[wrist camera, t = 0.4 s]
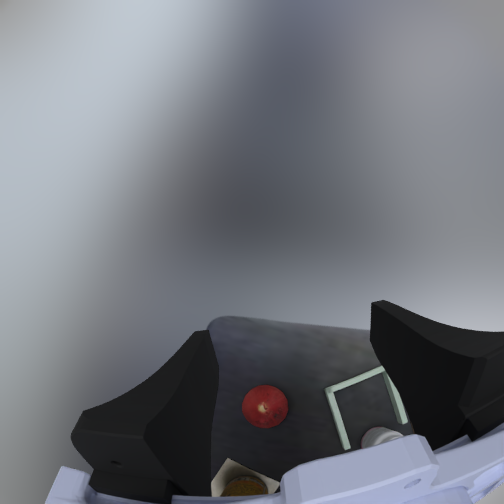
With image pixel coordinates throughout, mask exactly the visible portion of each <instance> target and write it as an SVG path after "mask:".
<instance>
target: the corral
mask: <svg viewBox="0 0 504 504" xmlns="http://www.w3.org/2000/svg"><path fill="white" fill-rule="evenodd" d="M380 372H382V375H383V378H384V381H385V384H386V387H387V390H388V393H389V396H390V399H391V402H392V405H393V408H394V412H395V415H396V418H397V422H398V423H399V424H405V423H407V422H408V421H407V417H406V414H405V411H404V407H403V404H402V401H401V398H400V395H399V393H398V391H397V389H396V387H395V386H394V384H393V383H392V381H391V379H390V378H389V376H388V374H387V373H386V371H385V369H384V368H383V366H382V365H381V366H379V367H377V368H375V369H372V370H370V371H368V372H365V373H363V374H361V375H358V376H356V377H353V378H351V379H348V380H346V381H343V382H340V383H338V384H335V385H333V386H330V387H327V388H324V391H325V394H326V397H327V400H328V404H329V407H330V410H331V413H332V416H333V419H334V422H335V425H336V429H337V432H338V435H339V438H340V441H341V444H342V448H343V449H345V450H347V449H350V448H351V447H350V444H349V441H348V437H347V434H346V431H345V428H344V425H343V421H342V418H341V415H340V412H339V409H338V406H337V403H336V400H335V397H334V394H333V392H334V391H337V390H340V389H342V388H345V387H347V386H350V385H352V384H355V383H357V382H360V381H362V380H364V379H367V378H369V377H371V376H374V375H376V374H378V373H380Z"/></svg>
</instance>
